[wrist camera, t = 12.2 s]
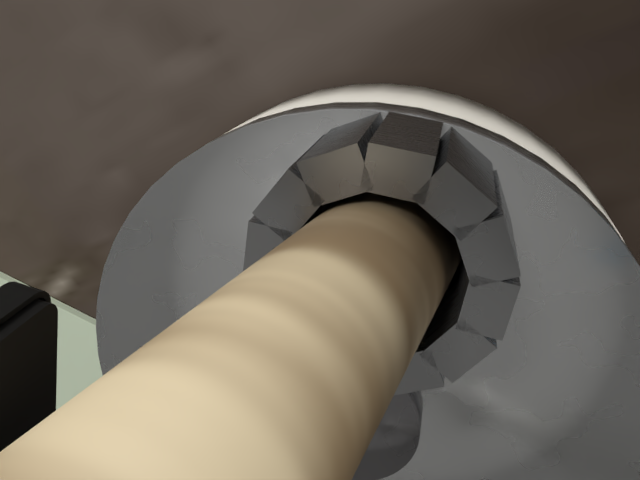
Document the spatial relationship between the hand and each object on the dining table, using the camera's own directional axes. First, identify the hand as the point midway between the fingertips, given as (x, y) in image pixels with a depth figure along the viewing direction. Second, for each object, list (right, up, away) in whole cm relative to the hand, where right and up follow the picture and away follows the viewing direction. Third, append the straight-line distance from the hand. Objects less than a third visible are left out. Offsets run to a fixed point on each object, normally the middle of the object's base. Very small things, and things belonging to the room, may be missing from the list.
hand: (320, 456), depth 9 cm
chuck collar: (+2, -2, +14) cm, 14 cm away
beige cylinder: (+3, +4, +9) cm, 10 cm away
